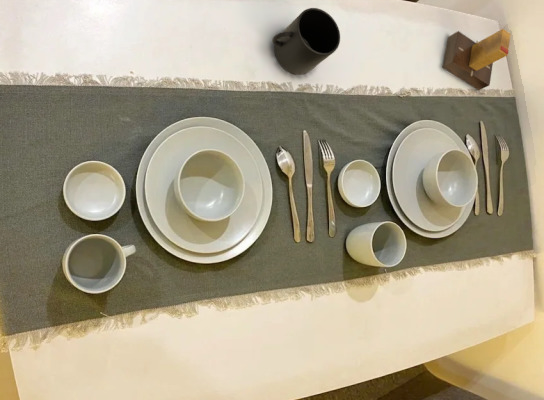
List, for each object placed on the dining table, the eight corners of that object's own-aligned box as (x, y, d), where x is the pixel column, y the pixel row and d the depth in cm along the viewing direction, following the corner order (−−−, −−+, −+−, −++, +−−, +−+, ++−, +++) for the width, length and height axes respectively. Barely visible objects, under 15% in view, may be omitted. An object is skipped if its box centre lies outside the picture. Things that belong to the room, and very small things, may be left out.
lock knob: (472, 45, 113) (503, 27, 105) (479, 50, 114) (511, 33, 106) (468, 66, 111) (500, 49, 104) (476, 71, 112) (508, 55, 104)
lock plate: (483, 58, 118) (495, 52, 116) (478, 92, 115) (489, 87, 112) (448, 35, 115) (459, 28, 112) (441, 69, 112) (452, 63, 109)
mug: (260, 27, 94) (282, 1, 86) (311, 34, 98) (337, 11, 90) (264, 71, 92) (287, 50, 84) (316, 77, 97) (343, 57, 89)
